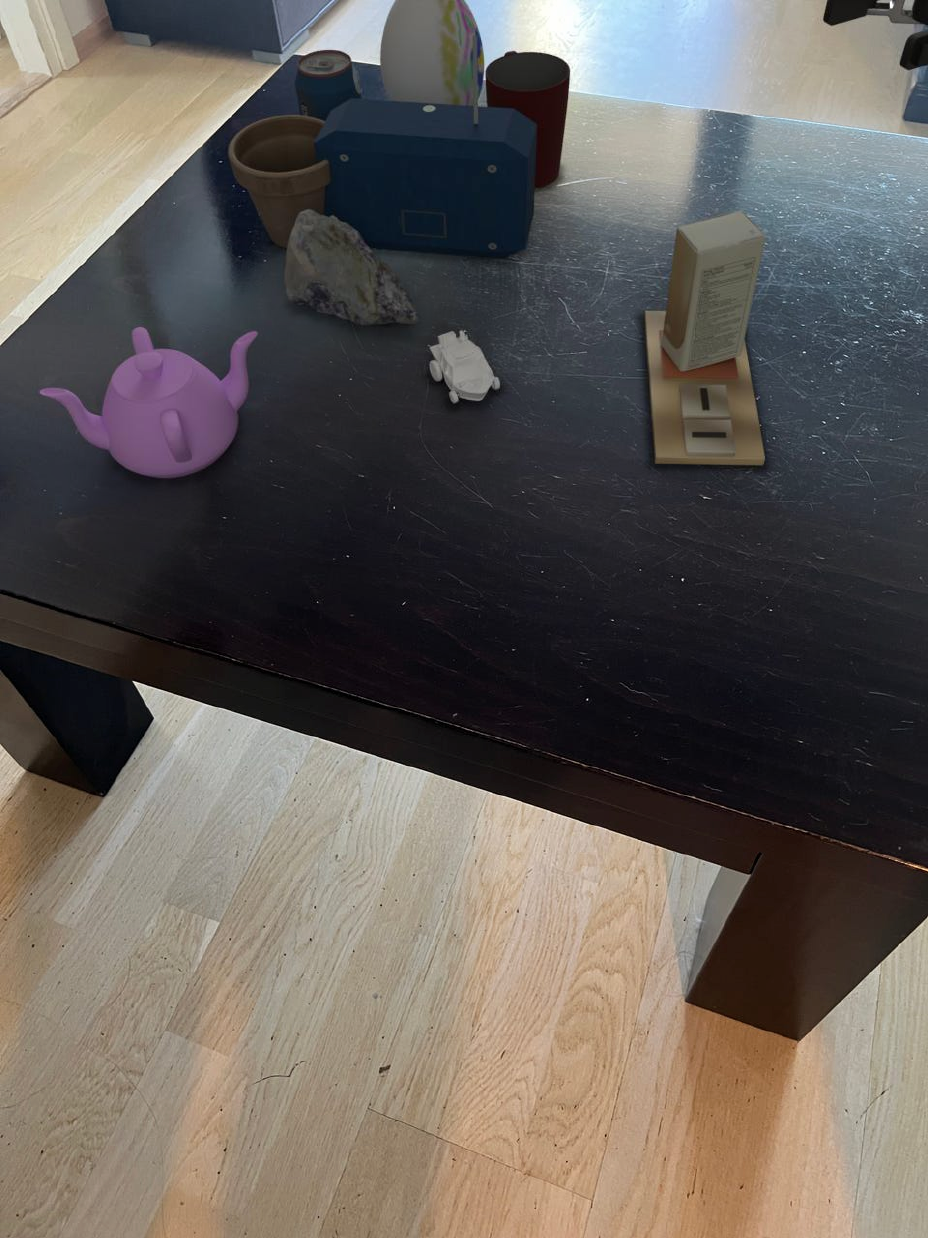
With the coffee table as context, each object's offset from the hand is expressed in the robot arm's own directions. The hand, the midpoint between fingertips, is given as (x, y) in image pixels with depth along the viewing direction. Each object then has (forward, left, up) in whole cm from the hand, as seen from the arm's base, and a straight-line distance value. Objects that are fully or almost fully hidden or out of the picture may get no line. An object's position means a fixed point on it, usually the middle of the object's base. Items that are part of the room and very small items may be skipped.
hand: (866, 30), depth 71 cm
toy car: (+30, +9, -26) cm, 41 cm away
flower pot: (+49, -15, -26) cm, 58 cm away
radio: (+35, -15, -26) cm, 46 cm away
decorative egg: (+37, -41, -26) cm, 61 cm away
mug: (+26, -29, -26) cm, 47 cm away
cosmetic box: (+9, +5, -25) cm, 27 cm away
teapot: (+55, +17, -26) cm, 63 cm away
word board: (+9, +9, -26) cm, 29 cm away
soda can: (+47, -28, -26) cm, 61 cm away
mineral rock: (+42, -1, -26) cm, 49 cm away
